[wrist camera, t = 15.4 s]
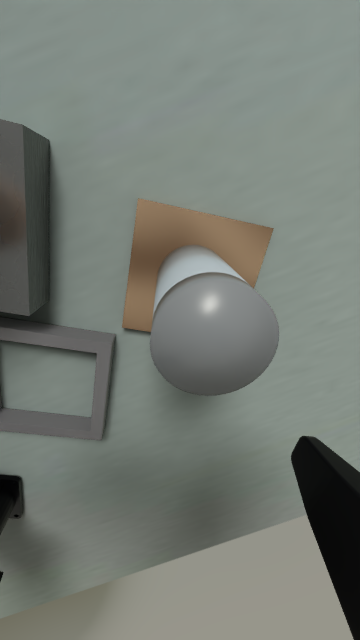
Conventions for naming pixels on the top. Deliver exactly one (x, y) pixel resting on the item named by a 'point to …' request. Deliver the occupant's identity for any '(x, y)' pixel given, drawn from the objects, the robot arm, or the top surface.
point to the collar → (67, 340)
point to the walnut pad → (180, 230)
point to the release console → (23, 219)
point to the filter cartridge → (209, 324)
